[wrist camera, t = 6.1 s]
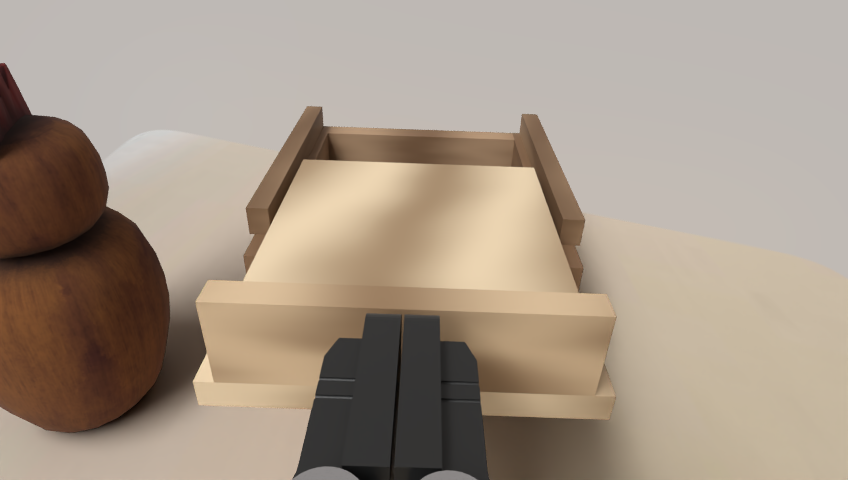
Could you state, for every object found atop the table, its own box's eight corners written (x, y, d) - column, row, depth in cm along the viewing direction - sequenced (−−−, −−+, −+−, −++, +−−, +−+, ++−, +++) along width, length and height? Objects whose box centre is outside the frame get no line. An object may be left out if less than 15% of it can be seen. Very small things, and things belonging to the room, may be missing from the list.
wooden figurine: (125, 470, 20) (-53, 19, 12) (-30, 454, 20) (-304, 6, 12) (206, 340, 25) (123, -21, 18) (84, 330, 26) (-51, -29, 18)
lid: (531, 184, 25) (541, 113, 23) (609, 419, 14) (640, 317, 12) (304, 176, 25) (298, 105, 23) (198, 405, 14) (171, 300, 12)
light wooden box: (519, 234, 34) (536, 114, 30) (559, 397, 23) (595, 241, 19) (317, 227, 34) (307, 106, 30) (260, 387, 23) (233, 228, 19)
